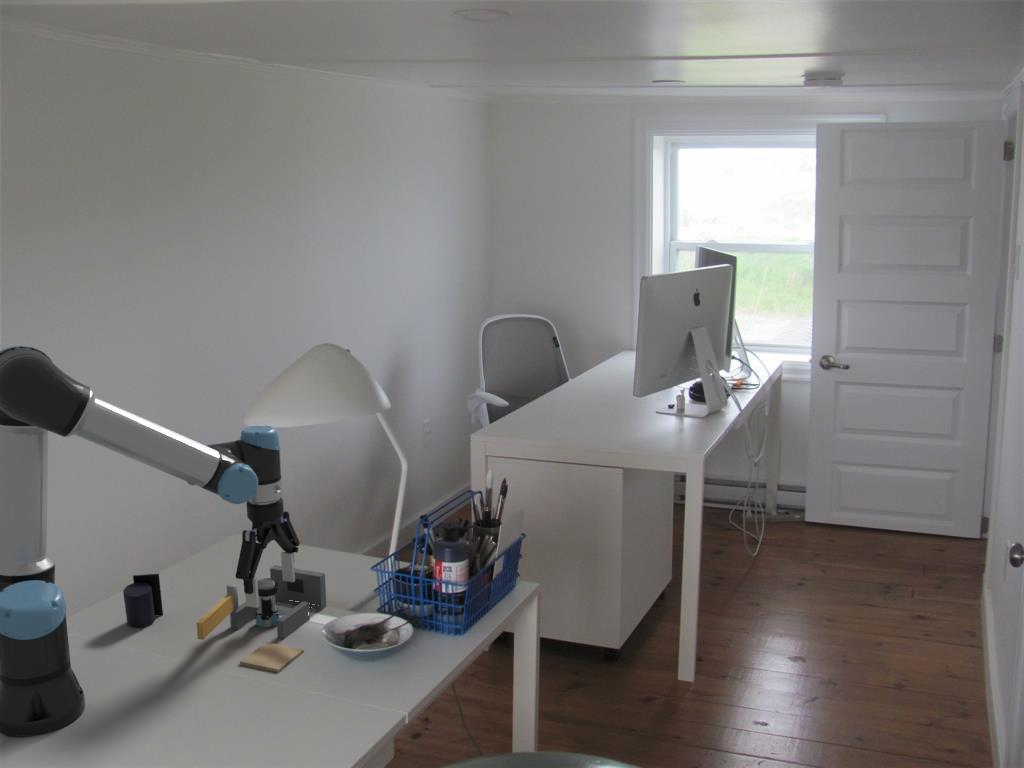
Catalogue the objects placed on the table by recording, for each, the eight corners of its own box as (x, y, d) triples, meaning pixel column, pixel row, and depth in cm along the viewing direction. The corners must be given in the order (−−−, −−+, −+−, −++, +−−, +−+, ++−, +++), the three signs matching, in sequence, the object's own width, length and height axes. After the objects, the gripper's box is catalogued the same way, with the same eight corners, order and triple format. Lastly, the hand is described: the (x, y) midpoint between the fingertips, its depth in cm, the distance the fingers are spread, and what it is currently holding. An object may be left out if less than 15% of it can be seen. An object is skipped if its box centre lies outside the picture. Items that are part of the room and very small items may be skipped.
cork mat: (278, 672, 198) (278, 669, 197) (239, 664, 201) (239, 661, 201) (303, 652, 206) (303, 649, 206) (266, 644, 209) (265, 642, 209)
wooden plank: (230, 605, 217) (229, 583, 216) (240, 605, 217) (239, 584, 216) (195, 639, 202) (193, 615, 201) (205, 639, 201) (204, 616, 200)
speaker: (139, 611, 224) (135, 569, 221) (163, 614, 223) (160, 572, 220) (121, 629, 217) (117, 586, 213) (146, 633, 216) (142, 590, 213)
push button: (285, 617, 222) (283, 574, 220) (287, 627, 217) (285, 583, 215) (254, 621, 220) (251, 578, 218) (255, 631, 215) (253, 587, 213)
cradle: (283, 639, 211) (282, 603, 210) (228, 628, 216) (226, 593, 214) (326, 606, 227) (325, 573, 225) (273, 597, 232) (272, 564, 230)
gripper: (244, 521, 200) (251, 620, 204) (311, 483, 222) (317, 573, 227) (212, 516, 202) (220, 615, 207) (282, 479, 225) (288, 568, 230)
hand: (271, 593), depth 217 cm, fingers open, 13 cm apart
